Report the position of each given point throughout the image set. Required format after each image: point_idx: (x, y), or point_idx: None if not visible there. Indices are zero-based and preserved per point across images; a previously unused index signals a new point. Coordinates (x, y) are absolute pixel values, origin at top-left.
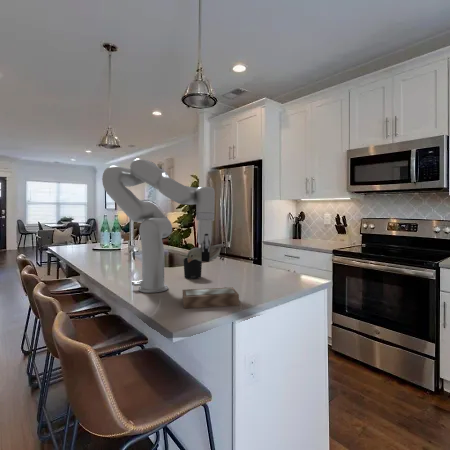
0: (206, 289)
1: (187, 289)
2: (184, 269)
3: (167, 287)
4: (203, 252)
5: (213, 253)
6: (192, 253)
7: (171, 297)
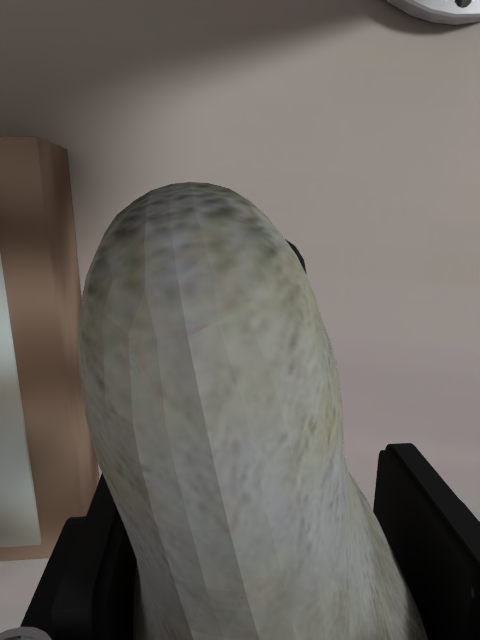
0: (7, 358)
1: (40, 187)
2: None
3: (427, 12)
4: (61, 631)
5: None
6: (78, 338)
7: (152, 53)
